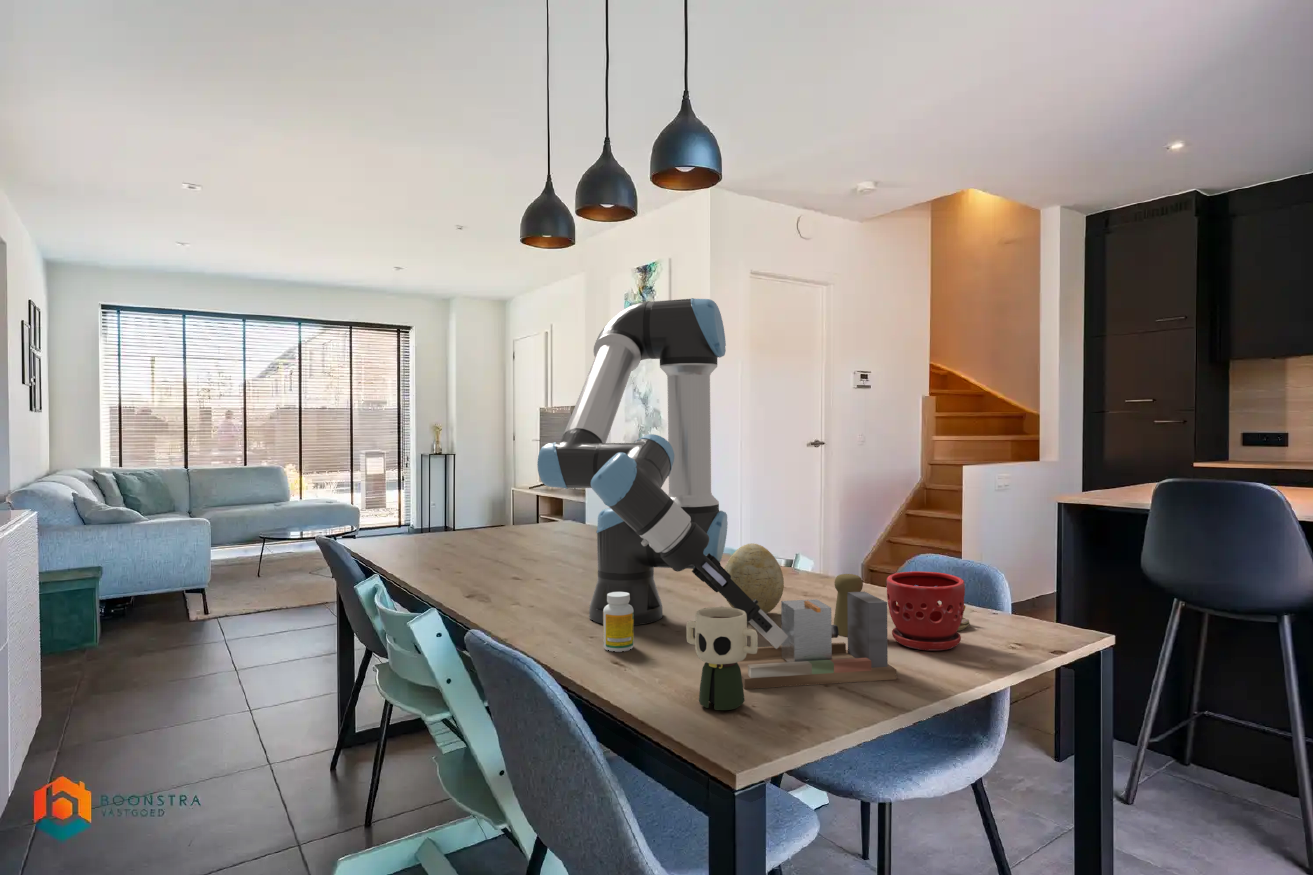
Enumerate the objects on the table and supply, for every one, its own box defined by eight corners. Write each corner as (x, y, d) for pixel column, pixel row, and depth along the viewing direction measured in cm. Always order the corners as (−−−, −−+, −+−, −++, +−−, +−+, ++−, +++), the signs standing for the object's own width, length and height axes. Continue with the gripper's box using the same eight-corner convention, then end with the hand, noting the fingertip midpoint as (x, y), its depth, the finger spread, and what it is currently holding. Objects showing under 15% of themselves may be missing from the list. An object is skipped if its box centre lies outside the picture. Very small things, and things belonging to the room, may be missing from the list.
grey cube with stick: (781, 656, 119) (781, 597, 119) (828, 653, 121) (828, 595, 121) (800, 673, 111) (799, 609, 111) (850, 670, 112) (850, 606, 112)
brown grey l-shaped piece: (725, 666, 121) (725, 595, 120) (865, 657, 124) (864, 589, 124) (744, 689, 110) (744, 611, 110) (896, 679, 114) (896, 604, 113)
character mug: (674, 706, 103) (674, 613, 103) (699, 691, 109) (698, 602, 109) (746, 722, 97) (746, 622, 97) (768, 705, 103) (767, 611, 103)
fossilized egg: (766, 606, 162) (766, 537, 162) (795, 620, 150) (794, 546, 150) (712, 611, 158) (712, 541, 158) (737, 625, 146) (737, 549, 146)
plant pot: (878, 634, 139) (877, 570, 139) (949, 634, 138) (949, 570, 138) (899, 655, 126) (898, 584, 126) (977, 655, 125) (977, 584, 125)
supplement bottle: (598, 646, 133) (598, 592, 132) (626, 642, 135) (626, 589, 135) (610, 654, 128) (610, 598, 128) (638, 649, 130) (638, 595, 130)
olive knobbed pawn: (866, 637, 137) (866, 578, 137) (833, 636, 138) (832, 577, 138) (864, 629, 143) (863, 572, 143) (832, 627, 144) (831, 571, 144)
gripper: (652, 548, 119) (752, 647, 122) (665, 562, 106) (777, 672, 109) (684, 515, 120) (783, 613, 123) (701, 524, 107) (812, 634, 110)
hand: (780, 641), depth 116 cm, fingers closed
